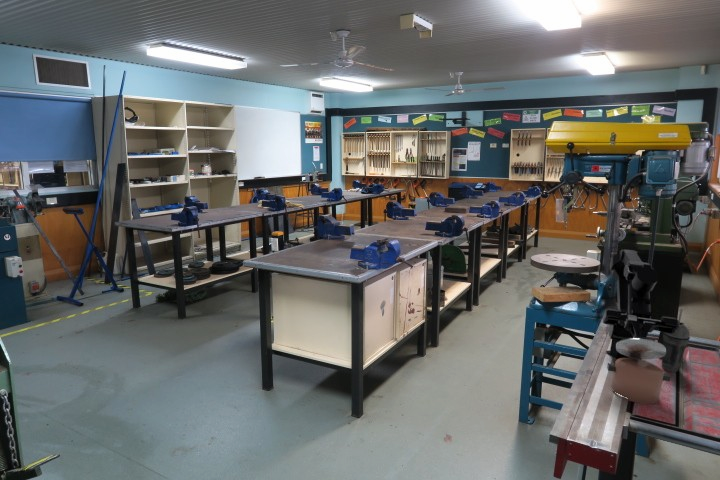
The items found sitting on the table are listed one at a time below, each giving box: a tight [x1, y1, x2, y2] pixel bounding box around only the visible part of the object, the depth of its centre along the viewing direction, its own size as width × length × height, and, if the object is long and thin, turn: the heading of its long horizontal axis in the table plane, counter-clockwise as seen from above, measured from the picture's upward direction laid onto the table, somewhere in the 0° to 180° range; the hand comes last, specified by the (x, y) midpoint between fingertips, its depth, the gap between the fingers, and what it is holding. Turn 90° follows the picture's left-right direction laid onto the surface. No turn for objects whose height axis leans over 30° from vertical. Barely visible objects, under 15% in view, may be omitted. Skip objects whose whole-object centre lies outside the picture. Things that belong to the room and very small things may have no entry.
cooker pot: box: [606, 357, 672, 405], centre depth 137 cm, size 13×16×8 cm
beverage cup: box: [661, 308, 691, 373], centre depth 151 cm, size 7×7×20 cm
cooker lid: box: [616, 336, 666, 360], centre depth 137 cm, size 12×12×2 cm
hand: (640, 347), depth 137 cm, fingers closed, pressing on cooker lid
